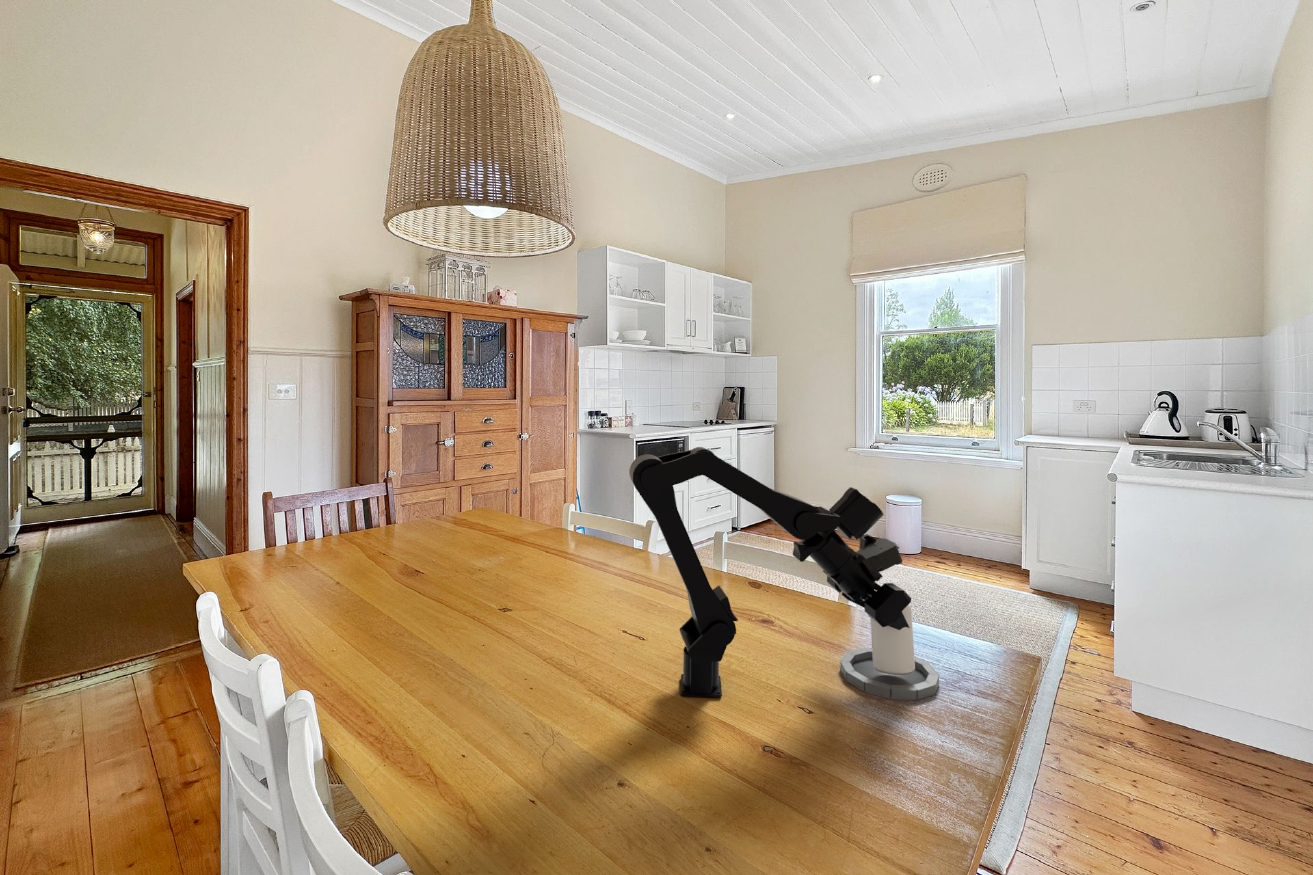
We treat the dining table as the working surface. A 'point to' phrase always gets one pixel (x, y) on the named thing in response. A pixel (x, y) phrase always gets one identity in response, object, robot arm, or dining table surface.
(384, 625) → the dining table surface
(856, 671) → the round gray tray
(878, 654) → the can
